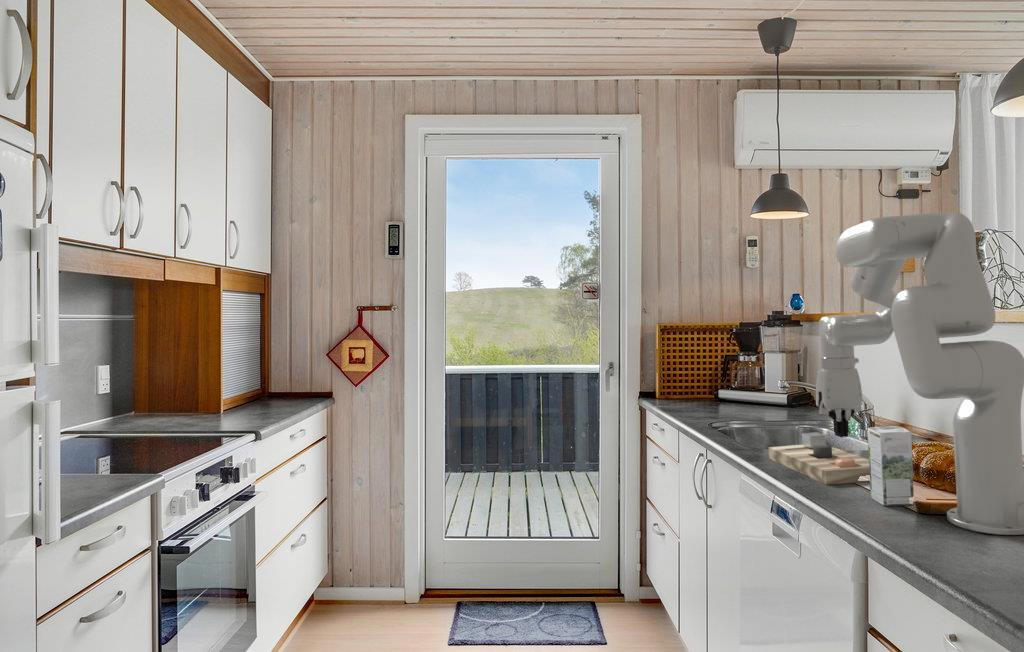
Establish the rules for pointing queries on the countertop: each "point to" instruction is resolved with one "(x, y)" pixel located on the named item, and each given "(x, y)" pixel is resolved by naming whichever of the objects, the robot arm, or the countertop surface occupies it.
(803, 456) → the light wooden board
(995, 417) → the robot arm
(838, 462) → the terracotta button
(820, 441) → the steel slider
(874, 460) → the syrup box
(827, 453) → the black button
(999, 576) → the countertop surface
